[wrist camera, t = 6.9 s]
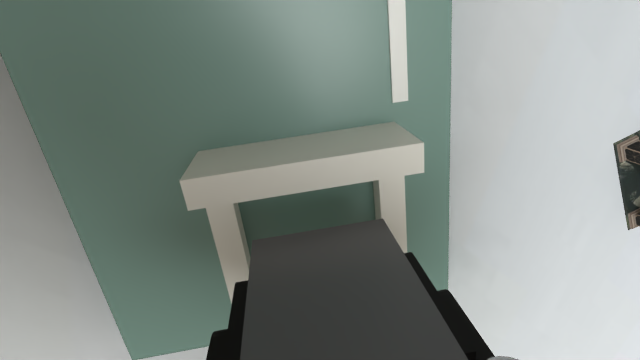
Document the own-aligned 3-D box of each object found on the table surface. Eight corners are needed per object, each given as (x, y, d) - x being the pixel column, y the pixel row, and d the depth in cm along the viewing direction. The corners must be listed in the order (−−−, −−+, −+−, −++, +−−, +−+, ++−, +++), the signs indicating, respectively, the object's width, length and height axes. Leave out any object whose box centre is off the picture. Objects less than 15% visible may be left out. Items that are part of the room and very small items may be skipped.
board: (-76, -195, 10) (-286, -334, 6) (437, -238, 11) (523, -380, 7) (140, 340, 18) (104, 424, 14) (437, 285, 19) (480, 350, 15)
